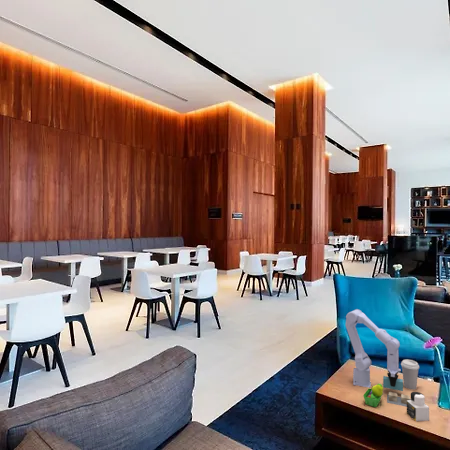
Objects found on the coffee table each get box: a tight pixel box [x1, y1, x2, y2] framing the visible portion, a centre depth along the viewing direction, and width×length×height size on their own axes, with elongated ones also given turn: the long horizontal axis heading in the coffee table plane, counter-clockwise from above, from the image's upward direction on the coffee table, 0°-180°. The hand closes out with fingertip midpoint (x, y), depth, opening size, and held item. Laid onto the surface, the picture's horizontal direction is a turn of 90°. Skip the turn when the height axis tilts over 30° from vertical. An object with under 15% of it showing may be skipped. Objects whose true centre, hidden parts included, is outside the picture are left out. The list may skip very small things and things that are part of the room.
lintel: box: [382, 375, 404, 392], centre depth 190 cm, size 10×4×5 cm, turn 63°
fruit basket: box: [363, 383, 384, 408], centre depth 180 cm, size 11×9×11 cm
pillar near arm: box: [388, 391, 398, 402], centre depth 183 cm, size 4×4×3 cm
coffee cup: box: [400, 359, 420, 390], centre depth 198 cm, size 10×10×15 cm
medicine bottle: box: [406, 391, 430, 422], centre depth 167 cm, size 7×7×12 cm
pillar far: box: [400, 393, 411, 404], centre depth 180 cm, size 4×4×3 cm
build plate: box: [386, 393, 411, 408], centre depth 182 cm, size 12×10×1 cm
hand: (392, 384), depth 190 cm, fingers closed on lintel, 4 cm apart
